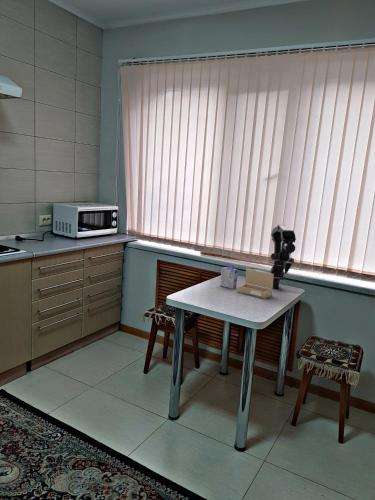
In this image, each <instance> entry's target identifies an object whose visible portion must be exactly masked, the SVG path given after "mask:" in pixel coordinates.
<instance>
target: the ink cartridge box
mask: <svg viewBox="0 0 375 500" xmlns="http://www.w3.org/2000/svg"><path fill="white" fill-rule="evenodd" d="M234 266H235V265H234V264H230V263H229V264H228V265H227V266H226V267H225V266H224V267H221V272H220V280H219V281H220V282H219V286H220V287H226V288H228V289H235V288H237V287H238V285H237V284H238V275H239V269H238V268H234Z"/></svg>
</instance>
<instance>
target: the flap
mask: <svg viewBox="0 0 375 500" xmlns="http://www.w3.org/2000/svg"><path fill="white" fill-rule="evenodd" d="M273 276H274V274H271V273H270V271H264V270H261V269H260V270H259V269H252V268H245V283H244V284H250V285H255V286H259V287H264V288H268V289H272V290H273V289H274V288H273Z"/></svg>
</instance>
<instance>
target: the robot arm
mask: <svg viewBox="0 0 375 500" xmlns="http://www.w3.org/2000/svg"><path fill="white" fill-rule="evenodd" d="M270 235H271V240H272V242H273V244H274V245H273V253H271V254H270V259H271V261H273V264H272V266H271V269H270V271H269V272H270V273H271V274H274V276H273V289H275V290H279V289H281V286H280V284H281V283H280V280H281V281H282V280H284V275H287V274H288V272H289V271H290V269H291V268H292V266H293V265H294V263H295V258H293V257H291V254H293V253H294V252H295V251H296V245H295V244H294V243H296V240H297V238H296V234H295V231H294V230H292V229H288V227H286V225H285V224H278V225H276V226H275V227H273V228H272V230H271V234H270Z"/></svg>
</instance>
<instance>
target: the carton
mask: <svg viewBox="0 0 375 500" xmlns="http://www.w3.org/2000/svg"><path fill="white" fill-rule="evenodd" d="M237 287H238V289H237V293H239V294H240V293H241V294H244V295H247V296H252V297H256V298H260V299H264V300H265V299H268V298H271V297H272V295H273V294H272V293H273V289H271V288H266V287H262V286H258V285H253V284H249V283H244V284H241V285H238V286H237Z"/></svg>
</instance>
